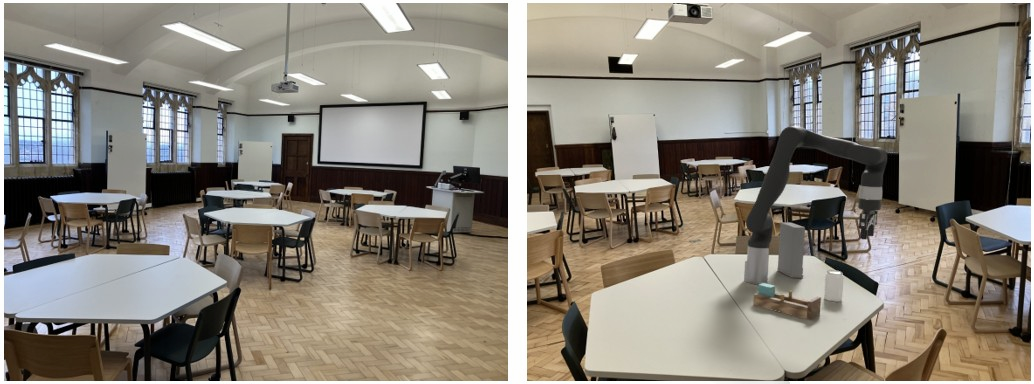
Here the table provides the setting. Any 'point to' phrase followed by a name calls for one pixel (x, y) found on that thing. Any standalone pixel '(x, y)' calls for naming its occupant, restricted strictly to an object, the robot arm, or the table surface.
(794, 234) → the tall upright block
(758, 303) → the wooden tray
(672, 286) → the table surface
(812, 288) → the table surface
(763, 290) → the rider
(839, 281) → the can
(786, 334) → the table surface
